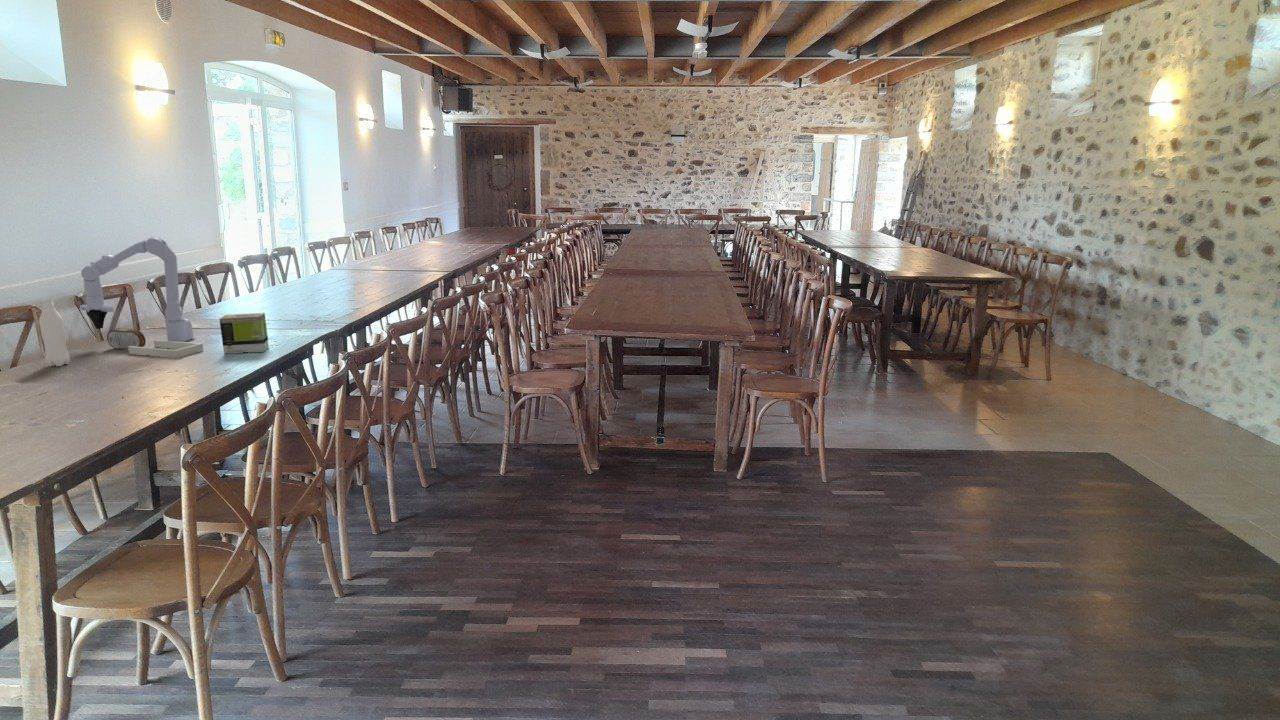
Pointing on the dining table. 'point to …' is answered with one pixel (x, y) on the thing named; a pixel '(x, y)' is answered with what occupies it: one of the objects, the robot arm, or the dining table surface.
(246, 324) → the tea box
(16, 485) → the dining table surface
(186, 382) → the dining table surface
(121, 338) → the tin
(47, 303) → the water bottle
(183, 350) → the box
